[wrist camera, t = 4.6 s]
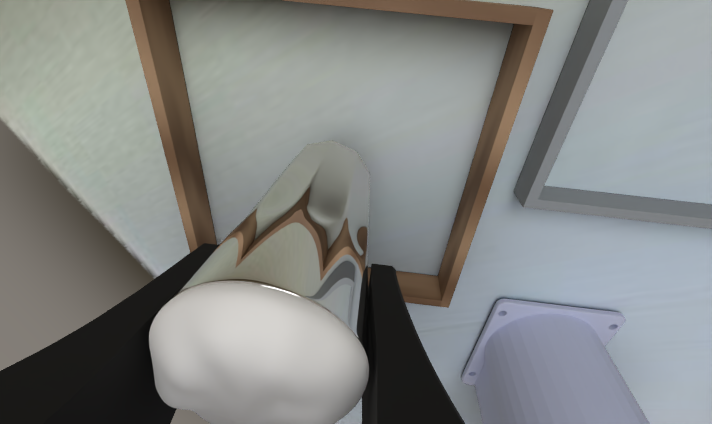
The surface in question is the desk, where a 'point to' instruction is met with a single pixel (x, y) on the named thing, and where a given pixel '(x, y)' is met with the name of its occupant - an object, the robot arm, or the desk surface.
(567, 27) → the desk surface
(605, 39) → the grey square frame
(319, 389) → the milkshake
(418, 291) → the brown wooden frame
